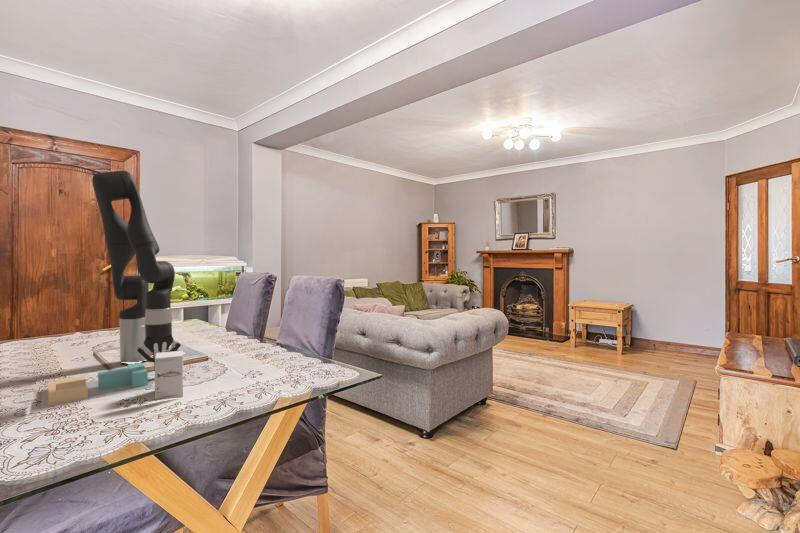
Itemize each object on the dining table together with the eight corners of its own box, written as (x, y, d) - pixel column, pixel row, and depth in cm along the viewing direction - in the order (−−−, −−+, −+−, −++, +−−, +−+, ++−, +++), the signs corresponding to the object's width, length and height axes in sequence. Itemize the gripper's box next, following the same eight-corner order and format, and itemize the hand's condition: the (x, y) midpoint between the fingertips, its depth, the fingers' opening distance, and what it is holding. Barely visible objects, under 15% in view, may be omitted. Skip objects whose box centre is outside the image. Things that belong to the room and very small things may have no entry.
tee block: (141, 375, 135) (141, 362, 135) (147, 385, 126) (147, 371, 125) (97, 383, 127) (97, 369, 127) (100, 393, 118) (100, 378, 118)
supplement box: (154, 401, 115) (153, 358, 114) (156, 393, 122) (155, 352, 121) (183, 397, 118) (182, 355, 118) (183, 389, 125) (183, 349, 124)
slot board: (144, 375, 138) (143, 365, 138) (153, 390, 124) (153, 379, 124) (43, 392, 121) (42, 381, 121) (40, 411, 107) (40, 398, 107)
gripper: (178, 317, 139) (179, 366, 140) (133, 322, 131) (134, 374, 131) (183, 321, 134) (184, 372, 134) (136, 325, 125) (137, 380, 126)
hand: (159, 373), depth 133 cm, fingers closed
